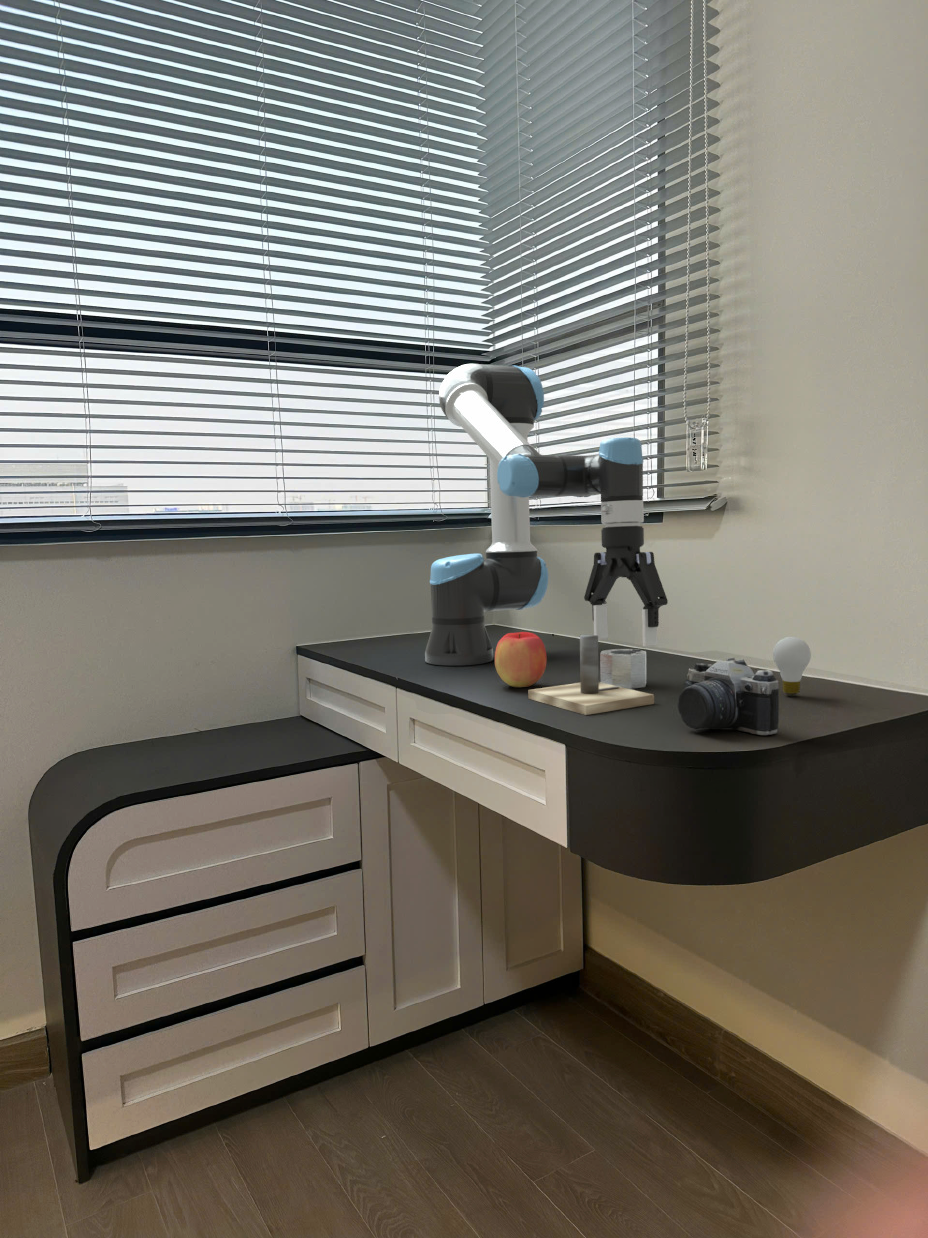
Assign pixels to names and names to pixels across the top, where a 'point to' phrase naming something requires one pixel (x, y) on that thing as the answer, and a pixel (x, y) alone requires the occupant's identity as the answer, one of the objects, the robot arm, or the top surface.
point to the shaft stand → (590, 688)
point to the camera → (730, 698)
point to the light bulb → (791, 662)
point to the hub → (623, 668)
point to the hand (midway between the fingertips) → (624, 642)
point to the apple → (520, 659)
